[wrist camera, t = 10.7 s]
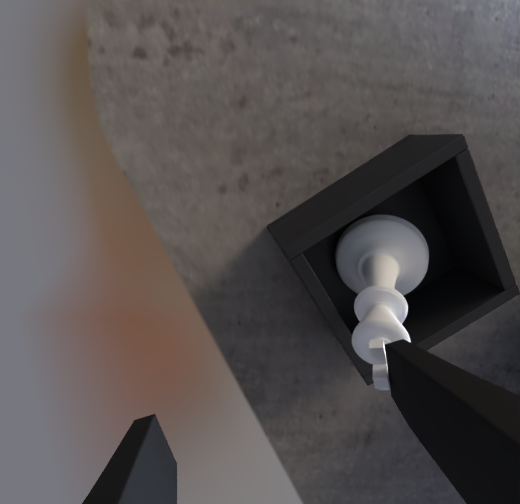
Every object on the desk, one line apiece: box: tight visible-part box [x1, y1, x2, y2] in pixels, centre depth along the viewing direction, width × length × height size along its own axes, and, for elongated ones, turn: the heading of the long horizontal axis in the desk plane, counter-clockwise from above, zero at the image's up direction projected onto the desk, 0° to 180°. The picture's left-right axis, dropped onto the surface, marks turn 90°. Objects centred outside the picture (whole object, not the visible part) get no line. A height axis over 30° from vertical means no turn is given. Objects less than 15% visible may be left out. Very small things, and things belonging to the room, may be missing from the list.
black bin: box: [267, 134, 520, 386], centre depth 19 cm, size 9×9×4 cm
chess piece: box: [335, 215, 429, 391], centre depth 15 cm, size 5×5×10 cm
